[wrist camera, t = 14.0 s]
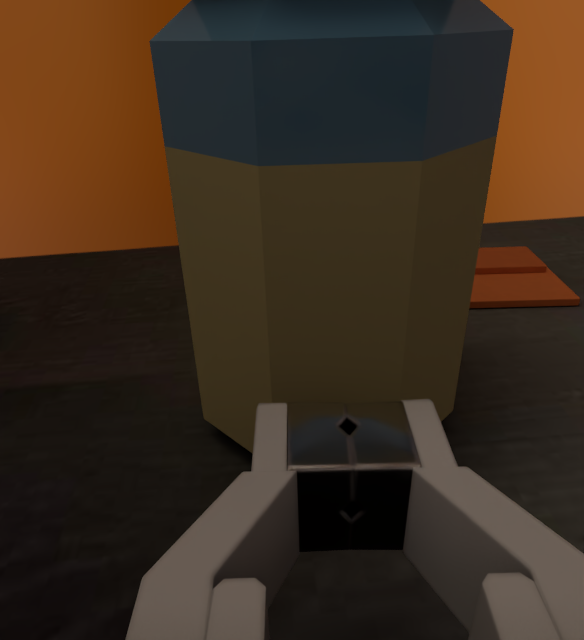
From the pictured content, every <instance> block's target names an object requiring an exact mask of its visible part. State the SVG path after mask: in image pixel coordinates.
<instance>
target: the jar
mask: <svg viewBox="0 0 584 640" xmlns="http://www.w3.org/2000/svg"><path fill="white" fill-rule="evenodd" d="M513 30H514V29H512V28H511V27H510V26H509V25H508V24H507V23H505V22H504V21H503V20H502V19H501V18H499V16H497V15H496V14H495V13H494V12H493V11H491V10H490V9H489V8H488V7H487V6H486V5H485V4H483V3H482V2H481V1H480V0H192V1H190V2H189V3H188V4H187V5H186V6H185V7H184V8H183V9H182V10H181V11H180V12H179V13H178V14H177V15H176V16H175V17H174V18H173V19H172V20H171V21H170V22H169V23H168V24H167V25H166V26H165V27H164V28H163V29H162V30H161V31H160V32H159V33H157V35H155V36H154V37H153V38H152V39H151V40H150V47H151V54H152V61H153V68H154V75H155V81H156V88H157V95H158V103H159V110H160V116H161V124H162V130H163V138H164V143H165V144H164V145H165V151H166V158H167V166H168V173H169V180H170V186H171V193H172V200H173V207H174V214H175V221H176V228H177V235H178V242H179V249H180V256H181V263H182V270H183V277H184V284H185V291H186V298H187V305H188V312H189V319H190V326H191V333H192V340H193V347H194V354H195V361H196V368H197V375H198V382H199V389H200V396H201V403H202V410H203V417H204V419H205V420H207V421H208V422H209V423H211V424H212V425H213V426H215V427H216V428H218V429H219V430H220V431H222V432H223V433H225V434H226V435H227V436H229V437H230V438H232V439H233V440H234V441H236V442H237V443H238V444H240V445H241V446H243V447H244V448H245V449H247V450H248V451H250V452H251V453H252V454H253V445H254V433H255V421H256V410H257V406H258V404H259V403H287V407H288V402H344V403H349V402H383V401H401V400H414V399H430V400H431V401H432V402H433V403H434V406H435V408H436V411H437V413H438V416H439V418H440V421H442V420H443V419H445V418H446V417H447V416H448V415H449V414H450V413H451V412H452V411H453V408H454V401H455V395H456V389H457V382H458V376H459V370H460V363H461V357H462V351H463V345H464V338H465V332H466V326H467V319H468V313H469V307H470V301H471V294H472V288H473V282H474V275H475V269H476V263H477V257H478V250H479V244H480V238H481V231H482V225H483V219H484V212H485V206H486V200H487V194H488V187H489V181H490V175H491V169H492V162H493V156H494V149H495V143H496V137H497V131H498V124H499V118H500V112H501V106H502V99H503V93H504V87H505V80H506V74H507V67H508V61H509V55H510V49H511V43H512V36H513Z"/></svg>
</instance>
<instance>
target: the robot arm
mask: <svg viewBox="0 0 584 640" xmlns="http://www.w3.org/2000/svg"><path fill="white" fill-rule="evenodd" d="M331 550H403V553H404V555H405V556H406V557H407V558H408V559H409V561H410V562H411V563H412V564H413V566H414V567H415V568H416V569H417V570H418V572H419V573H420V574H421V575H422V577H423V578H424V579H425V580H426V581H427V583H428V584H429V585H430V586H431V587H432V589H433V590H434V591H435V592H436V594H437V595H438V596H439V597H440V598H441V600H442V601H443V602H444V603H445V605H446V606H447V607H448V608H449V609H450V611H451V612H452V613H453V614H454V616H455V617H456V618H457V619H458V620H459V622H460V623H461V624H462V625H463V627H464V628H465V629H466V630H467V631H468V633H469V637H468V640H584V554H583V553H582V552H581V551H579V550H578V549H577V548H575V547H574V546H573V545H571V544H570V543H569V542H567V541H566V540H565V539H563V538H562V537H561V536H559V535H558V534H557V533H555V532H554V531H553V530H551V529H550V528H549V527H547V526H546V525H545V524H543V523H542V522H541V521H539V520H538V519H537V518H535V517H534V516H532V515H531V514H530V513H528V512H527V511H526V510H524V509H523V508H522V507H520V506H519V505H518V504H516V503H515V502H514V501H512V500H511V499H510V498H508V497H507V496H506V495H504V494H503V493H502V492H500V491H499V490H498V489H496V488H495V487H494V486H492V485H491V484H490V483H488V482H487V481H486V480H484V479H483V478H482V477H480V476H479V475H478V474H476V473H475V472H474V471H472V470H471V469H470V468H468V467H458V465H457V462H456V460H455V457H454V455H453V452H452V449H451V447H450V444H449V442H448V439H447V436H446V434H445V431H444V429H443V426H442V424H441V421H440V418H439V416H438V413H437V411H436V408H435V406H434V403H433V402H432V401H431V400H430V399H414V400H401V401H383V402H349V403H344V402H288V407H287V403H259V404H258V406H257V410H256V421H255V433H254V445H253V456H252V468H251V472H242V473H241V474H240V475H239V476H238V477H237V478H236V479H235V480H234V481H233V482H232V483H231V484H230V485H229V486H228V488H227V489H226V490H225V491H224V492H223V493H222V494H221V495H220V496H219V497H218V498H217V499H216V500H215V501H214V502H213V503H212V504H211V505H210V506H209V508H208V509H207V510H206V511H205V512H204V513H203V514H202V515H201V516H200V517H199V518H198V519H197V520H196V521H195V522H194V523H193V524H192V525H191V527H190V528H189V529H188V530H187V531H186V532H185V533H184V534H183V535H182V536H181V537H180V538H179V539H178V540H177V541H176V542H175V543H174V544H173V545H172V547H171V548H170V549H169V550H168V551H167V552H166V553H165V554H164V555H163V556H162V557H161V558H160V559H159V560H158V561H157V562H156V563H155V564H154V566H153V567H152V568H151V569H150V570H149V571H148V572H147V573H146V574H145V575H144V576H143V577H142V581H141V584H140V588H139V592H138V595H137V599H136V603H135V606H134V610H133V614H132V618H131V621H130V625H129V629H128V632H127V636H126V640H270V634H269V622H268V608H269V606H270V605H271V603H272V601H273V600H274V598H275V596H276V595H277V593H278V591H279V589H280V588H281V586H282V584H283V583H284V581H285V579H286V577H287V576H288V574H289V572H290V571H291V569H292V567H293V566H294V564H295V562H296V560H297V559H298V557H299V552H311V551H331Z"/></svg>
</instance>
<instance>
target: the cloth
mask: <svg viewBox="0 0 584 640" xmlns="http://www.w3.org/2000/svg"><path fill="white" fill-rule="evenodd" d="M579 302H580V298H579V297H578V296H577V295H576V294H575V293H574V292H573V291H572V290H571V289H570V288H569V287H568V286H566V285H565V284H564V283H563V282H562V281H561V280H560V279H559V278H558V277H557V276H556V275H555V274H554V273H553V272H552V271H551V270H550V269H548V268H547V266H546V265H545V264H544V263H543V262H542V261H541V260H540V259H539V258H538V257H537V256H536V255H535V254H534V253H533V252H532V251H530V250H529V249H528V248H527V247H492V248H479V250H478V257H477V263H476V269H475V275H474V282H473V288H472V294H471V301H470V307H469V308H500V307H537V306H573V305H579Z"/></svg>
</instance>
